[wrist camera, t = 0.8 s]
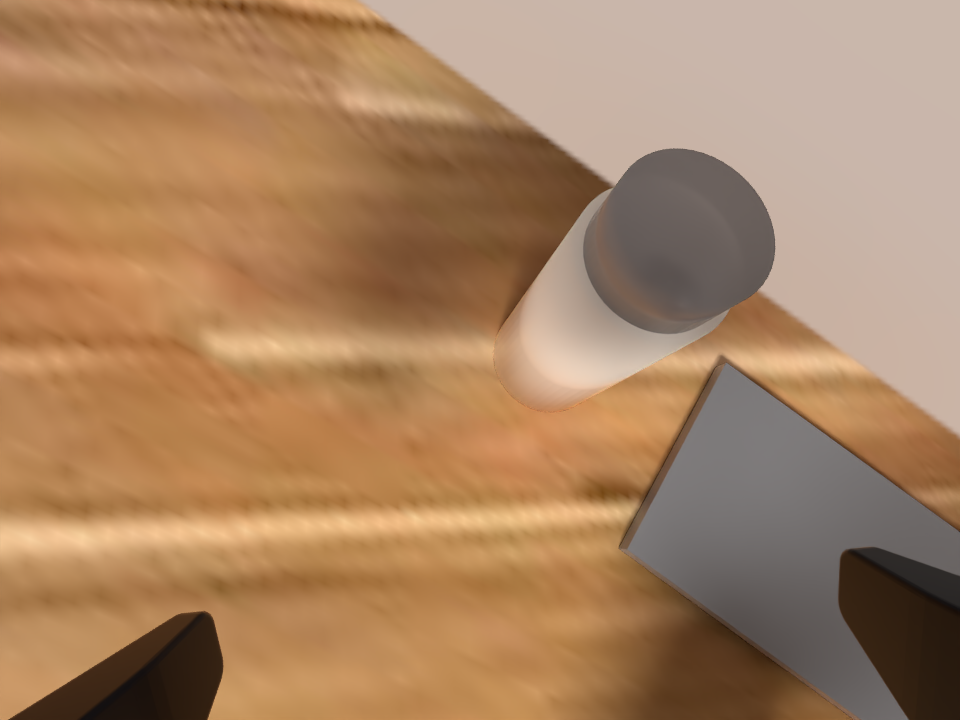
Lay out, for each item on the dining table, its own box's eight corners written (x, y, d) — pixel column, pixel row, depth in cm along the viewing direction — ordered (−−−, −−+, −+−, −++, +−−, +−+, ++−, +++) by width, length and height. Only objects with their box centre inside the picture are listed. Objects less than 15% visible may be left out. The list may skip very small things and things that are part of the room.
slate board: (984, 562, 27) (1002, 563, 26) (926, 771, 23) (944, 780, 22) (716, 366, 27) (726, 362, 26) (618, 548, 23) (627, 549, 23)
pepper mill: (614, 395, 25) (817, 294, 14) (513, 425, 24) (648, 341, 13) (577, 296, 26) (737, 126, 15) (478, 320, 25) (573, 153, 14)
